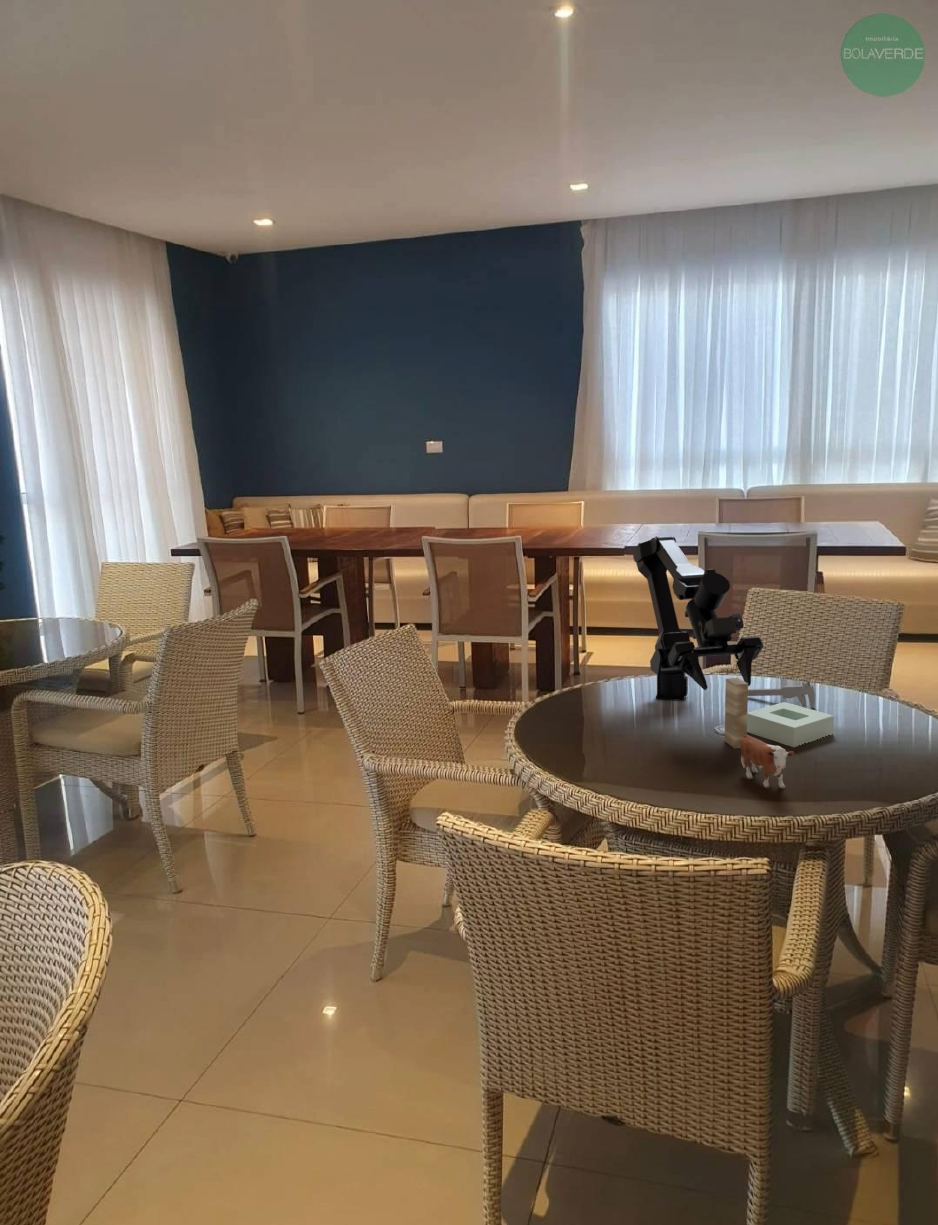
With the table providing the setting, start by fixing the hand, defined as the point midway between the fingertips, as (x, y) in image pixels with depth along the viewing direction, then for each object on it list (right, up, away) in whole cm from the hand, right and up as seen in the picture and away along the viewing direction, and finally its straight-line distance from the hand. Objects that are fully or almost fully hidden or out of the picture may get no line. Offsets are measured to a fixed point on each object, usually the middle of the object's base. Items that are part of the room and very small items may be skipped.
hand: (727, 687), depth 175 cm
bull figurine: (0, -15, -21) cm, 26 cm away
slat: (+1, -11, -2) cm, 11 cm away
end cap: (+13, -10, +3) cm, 17 cm away
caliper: (+17, -6, +25) cm, 31 cm away
